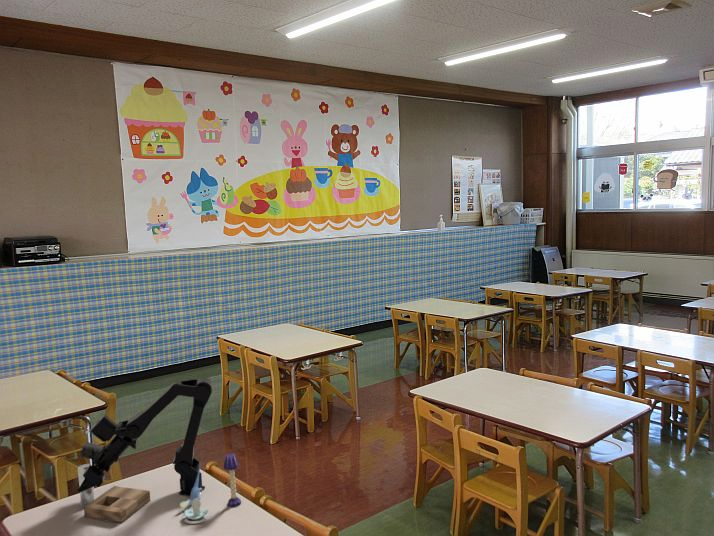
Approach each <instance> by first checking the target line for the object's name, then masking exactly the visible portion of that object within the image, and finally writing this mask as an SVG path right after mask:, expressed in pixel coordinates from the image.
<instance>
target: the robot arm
mask: <svg viewBox="0 0 714 536" xmlns="http://www.w3.org/2000/svg"><path fill="white" fill-rule="evenodd" d="M213 385H214V384H213V381H212V380H211V378H209V377H207V376H202V377H200V378H198V379H197V378H195V379H192V378H191V379H187V380H186V379H185V380H174V382H172V384H171V385H170V386H169V387H168V388H166V390H165V391H163V393H162V394H160V395H159V396H158V397H157V398H156V399H155V400H154V401H153V402H151V404H150V405H148V406H147V407H146V408H145V409H144V410H141V411H139V412H137V413H136V414H135V415H133V416H132V417H130V418H129V419H126V420H122V421H119V422H118V423H116V422H114V421H113V420H111V418H110V417H109V416H108V415H107V414H104V415H103V416H102V417H101V418H100V419H98V420H97V421H96V422H95V424H93V426H92V427H91V428H90V429H89V431H88V432H89V433H90V434H92V435H93V436H95V437H96V438H97V439H98V440H100V441H101V442H105V443H106V442H108V443H107V444H104V445H103V446H101V445H99V444H95V443H92V442H89V441H88V442H87V441H85V442H84V443H83V446H82V448H81V450H80V452H79V457H81V458H85V459H86V460H89V459H90V460H91V466H89V467H88V468H87V470H85V472H84V474H83V476H84V478H85V479H84V481H83V482H82V484H81V485H80V487H78V489H77V492H78V493H79V494H80V492H83V491H85V490H87V489H89V488H92V487H93V488H94V487H100V486H101V485H102V484H103V483H104V481H105V478H106V473H105V472H109V471H110V470H111V467H112V466H113V465H114V464H115V463H117V462H118V461H119V459H120V458H121V456H122V455H124V453H125V451H127V450H128V448H130V447H131V448H132V449H134V450H136V449H137V447H138V439H139V438H140V437H141V436H142V435H143V433H144V432H145V431H146V430H147V428H148V427H149V425H150V424H151V422H152V421H153V420H154V419H155V418H156V417H157V416H158V415H159V414H160V413H161V412H162V411H163V410H164V409H166V408H167V407H168V406H169V405H170V404H171V403H172V402H173V401H174V400H175V399H176V398H177V397H178V396H179V397H180V396H182V397H187V398H188V397H190V398H193V400H192V409H191V412H190V417H189V421H188V424H187V428H186V432H185V436H184V439H183V443H182V445H177V446H176V449H175V454H174V456H173V461H172V465H174V466H173V468H174V471H175V472H176V473H177V474H179V475H180V476H179V477H180V478H179V489H180V491H179V492H178V495H180V496H188V497H191V491H192V488H193V487H194V484H195V481H196V478H197V475H198V471H199V467H200V468H201V465H200V463H201V462H200V461H199V459H197V458H196V457H194V456H195V455H194V453H195V443H196V440H197V436H198V432H199V429H200V424H201V422H202V421H201V420H202V417H203V413H204V409H205V407H206V406H207V404H208V403H209V399H210V397H211V396H212V392H213ZM104 471H105V472H104ZM198 488H202V491H203V490H204V489H205V488H206V486H205V485H203V478H202V472H199V482H198ZM202 491H201V490H200V492H201V493H202Z"/></svg>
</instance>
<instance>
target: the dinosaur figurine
mask: <svg viewBox="0 0 714 536" xmlns="http://www.w3.org/2000/svg"><path fill="white" fill-rule="evenodd" d="M201 465H202V464H201V462H200V467H199V471H198V475H197V478H196V481H195V484H194V487H193V488H192V491H191V496H189V497H190V498H189V499H186V500H187V501H186V500H185V501H181V502H180V503H179V506H180V510H181V511H185V510H189V507H190V506H191V502H192V500H193V499H196V498H197V499H199V500H200V501H201V498H200V497H201V495H202V492H203V490H202V488H198V482H199V472H200V471H201ZM200 473H201V472H200ZM200 490H201V492H200Z"/></svg>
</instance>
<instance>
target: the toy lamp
mask: <svg viewBox="0 0 714 536" xmlns="http://www.w3.org/2000/svg"><path fill="white" fill-rule="evenodd" d="M238 467H239V462H238V459H237V456H236V454H235V453H232V452H231V453H227V454H226V455H225V457H224V462H223V468H224V470H225V471H226V470H227V471H228V472H229V473H228V476H229V485H230V487H229V488H230V494H231V495H230V497H231V498H229V499H228V501H227V506H228V507H231V508H235V507H238V506H240V505H241V504H242V500H241V498H240V497H238V494H237V485H236V476H235V475H236V473H235V470H236V469H237V468H238Z"/></svg>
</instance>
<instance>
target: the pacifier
mask: <svg viewBox="0 0 714 536" xmlns="http://www.w3.org/2000/svg"><path fill="white" fill-rule="evenodd" d="M190 506H191V508H192V509H188V510H184V515H185V519H184V523H185V524H186V523H187V524H189V525H198V524H201V523H204V522H205V520H206V518H205V516H206V515H207V514H208V513H209V509H204V510H202V511H201V509H200V508H201V507H202V503H201V499H200V500H199V499H197V498H196V499H193V500H192V502H191V505H190Z"/></svg>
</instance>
